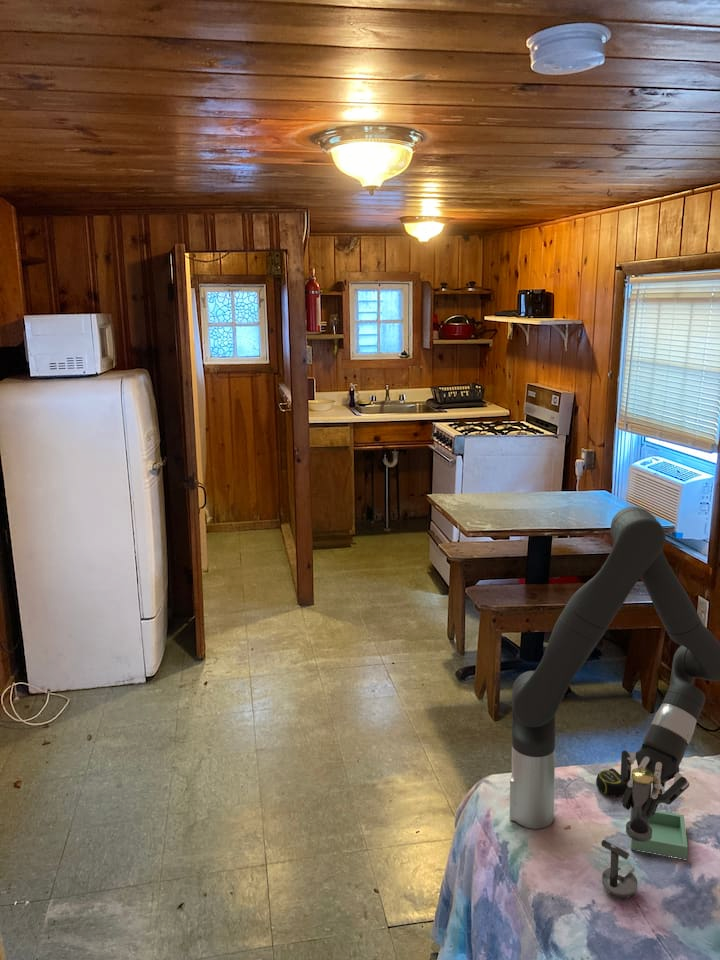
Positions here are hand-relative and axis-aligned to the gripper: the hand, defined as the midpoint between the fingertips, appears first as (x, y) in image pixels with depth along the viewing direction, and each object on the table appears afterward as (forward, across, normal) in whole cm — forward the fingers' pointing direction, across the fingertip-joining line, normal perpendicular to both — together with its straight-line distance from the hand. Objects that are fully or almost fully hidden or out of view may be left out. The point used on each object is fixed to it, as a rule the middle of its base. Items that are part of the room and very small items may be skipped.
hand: (635, 812), depth 142 cm
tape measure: (-6, -18, +27) cm, 33 cm away
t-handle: (+14, 0, +7) cm, 15 cm away
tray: (0, -2, +20) cm, 21 cm away
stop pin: (+2, 0, +5) cm, 6 cm away
